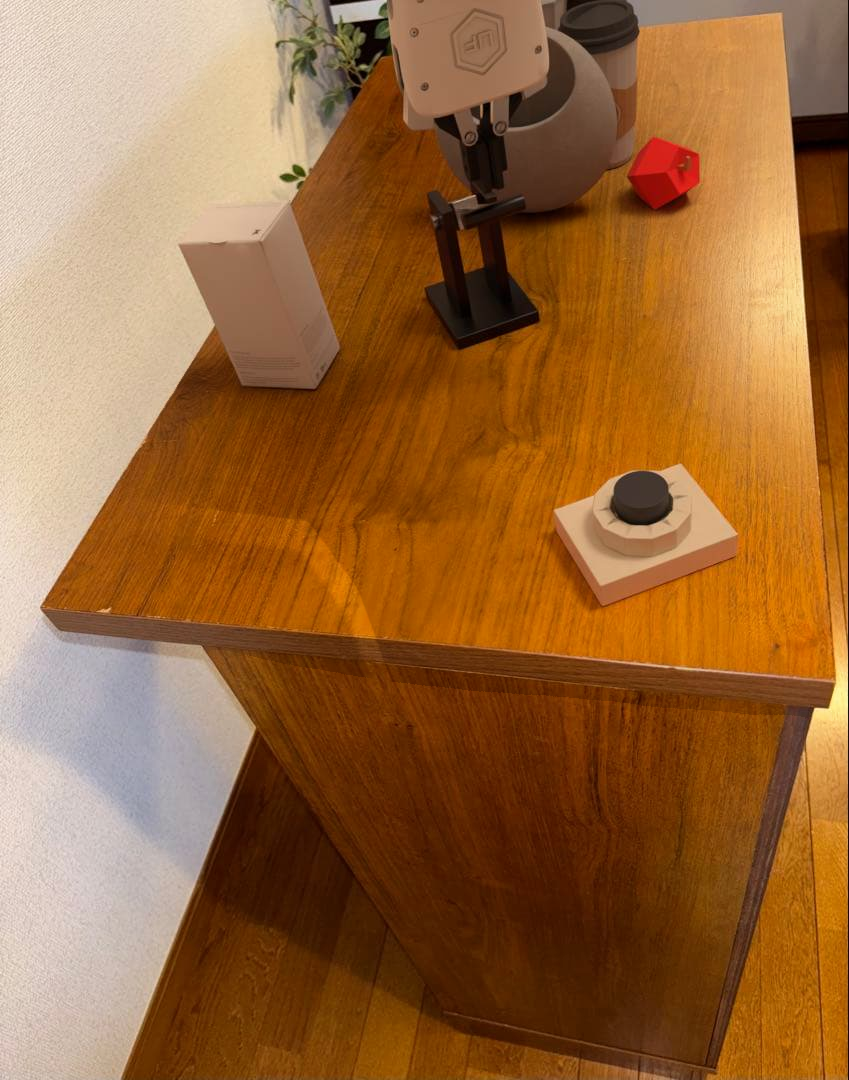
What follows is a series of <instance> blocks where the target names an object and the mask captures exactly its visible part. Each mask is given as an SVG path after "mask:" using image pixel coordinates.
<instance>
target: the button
mask: <svg viewBox="0 0 849 1080" xmlns="http://www.w3.org/2000/svg"><path fill="white" fill-rule="evenodd" d="M650 471H651V470H648V471H635V472H631V473H628V474H626V475H624V476H622V477H621V478H620V479H619V480H618V481H617V482H616V484H615V486H614V504H615V512H616V514H617V516H618V517H619V518H620V519H621V520H622V521H624V522H625V523H628V524H630V525H641V526H647V525H651V524H654V523H657V522H658V521H660V520H661V519H663V518H664V517H665V515H666V514H667V512H668V510H669V487H668V484H667V482H666V480H665V479H664V478H663V477H662V476H660V475H659V474H657V473H654V472H650Z"/></svg>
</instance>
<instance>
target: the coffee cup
mask: <svg viewBox="0 0 849 1080" xmlns="http://www.w3.org/2000/svg"><path fill="white" fill-rule="evenodd" d="M634 10H635V9H634V6H633V4H632V3H630V2H628V1H625V0H598V1H593V2H588V3H585V4H581V5H578V6H576V7H573V8H571V9H570V10H568V11H566V12H565V13H564V14H563V15H562V16H561V18H560V26H559V28H558V30H557V31H559V32H561V33H563V34H565V35H567V36H569V37H570V38H572V39H573V40H575V41H576V42H577V43H579V44H580V45H581V46H582V47H583V48H584V49H585V50H586V51H587V52H588V53H589V54H590V55H591V56H592V57H593V59H594V60H595V61H596V63H597V64H598V65H599V67H600V68H601V70H602V72H603V73H604V75H605V77H606V79H607V81H608V84H609V86H610V89H611V92H612V95H613V98H614V103H615V108H616V114H617V135H616V142H615V147H614V151H613V154H612V157H611V160H610V162H609V165H608V167H607V169H606V170H612V169H615V168H618V167H621V166H623V165H624V164H626V163H628V162H629V161H630V160H631V158H632V156H633V153H634V151H635V143H636V142H635V139H636V121H637V108H638V107H637V106H638V105H637V103H638V102H637V100H638V75H637V73H638V71H637V70H638V41H639V40H638V39H639V38H638V37H639V35H640V33H641V31H640V27H639V19H638V15H636V14H635V11H634Z"/></svg>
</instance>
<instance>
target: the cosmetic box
mask: <svg viewBox="0 0 849 1080" xmlns="http://www.w3.org/2000/svg"><path fill="white" fill-rule="evenodd" d="M177 245H178V248H179V249H180V252H181V254H182V256H183V258H184V260H185V262H186V265H187V268H188V269H189V272H190V274H191V276H192V278H193V280H194V282H195V284H196V287H197V289H198V291H199V294H200V296H201V298H202V300H203V302H204V304H205V307H206V310H207V311H208V314H209V315H210V318H211V319H212V322H213V324H214V326H215V328H216V331H217V333H218V335H219V338H220V340H221V343H222V344H223V346H224V349H225V350H226V353H227V355H228V357H229V360H230V362H231V364H232V366H233V369H234V370H235V373H236V375H237V377H238V379H239V381H240V384H241V386H242V387H257V388H258V387H261V388H282V389H302V390H303V389H304V390H316V389H317V388H318V386H319V385H320V383H321V382H322V380H323V378H324V376H325V375H326V373H327V372H328V371H329V368H330V366H331V365H332V363H333V361H334V360H335V358H336V356H337V355H338V353H339V351H340V349H341V345H340V343H339V340H338V336H337V335H336V331H335V329H334V328H335V327H334V326H333V323H332V319H331V318H330V314H329V311H328V308H327V306H326V303H325V300H324V297H323V294H322V291H321V288H320V285H319V283H318V282H319V281H318V280H317V277H316V274H315V271H314V267H313V266H312V263H311V260H310V257H309V253H308V250H307V248H306V245H305V242H304V240H303V236H302V234H301V231H300V227H299V225H298V223H297V219H296V217H295V213H294V211H293V208H292V205H291V202H290V200H276V201H275V200H274V201H272V200H271V201H253V202H222V203H218V202H217V203H216V202H215V203H210V204H209V205H208V206H207V207H206V208H205V210H204V211H203V212H202V213H201V215H200V216H199V217H198V218H197V220H196V221H195V222H194V224H193V225H192V226H191V227H190V229H188V231H187V232H186V233H185V234H184V235H183V237H182V238H181V239H180V240H179V241H178V243H177Z"/></svg>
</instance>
